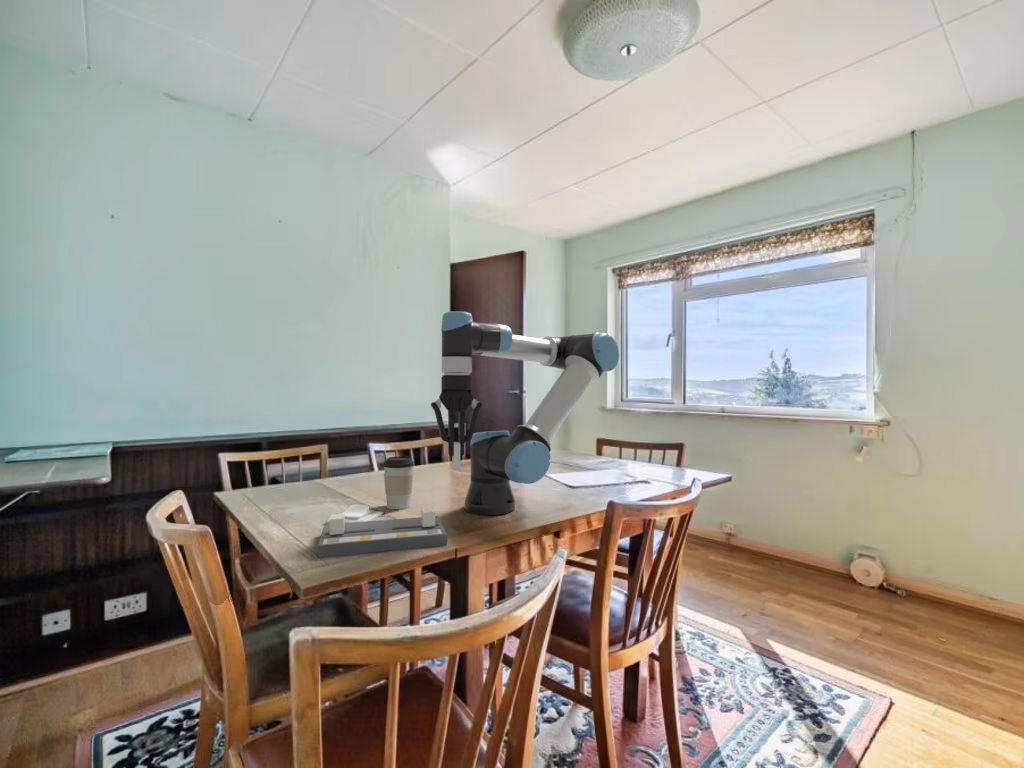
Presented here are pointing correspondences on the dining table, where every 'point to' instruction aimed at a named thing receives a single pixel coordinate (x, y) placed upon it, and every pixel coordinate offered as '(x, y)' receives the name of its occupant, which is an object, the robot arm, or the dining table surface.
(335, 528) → the slide switch
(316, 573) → the dining table surface
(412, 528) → the switch panel
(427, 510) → the slide switch
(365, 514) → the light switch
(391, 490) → the coffee cup
